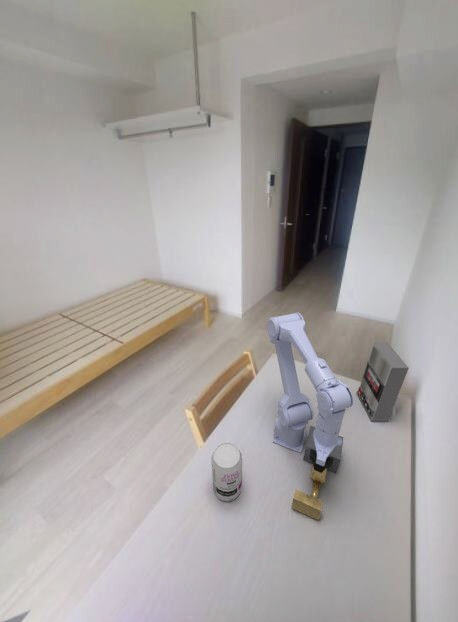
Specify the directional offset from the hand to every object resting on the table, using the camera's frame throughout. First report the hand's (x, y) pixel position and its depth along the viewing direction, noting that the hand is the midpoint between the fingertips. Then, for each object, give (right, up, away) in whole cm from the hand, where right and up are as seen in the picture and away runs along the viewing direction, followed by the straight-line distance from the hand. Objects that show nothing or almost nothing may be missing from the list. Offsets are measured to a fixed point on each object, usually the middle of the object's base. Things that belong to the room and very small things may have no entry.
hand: (320, 457), depth 75 cm
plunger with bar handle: (-2, -10, +3) cm, 10 cm away
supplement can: (-26, -10, +3) cm, 28 cm away
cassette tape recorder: (+29, +4, +28) cm, 40 cm away
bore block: (+4, -5, +11) cm, 13 cm away
